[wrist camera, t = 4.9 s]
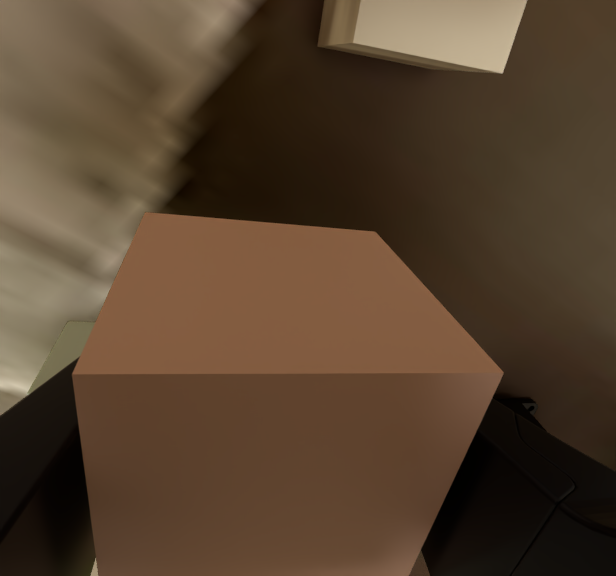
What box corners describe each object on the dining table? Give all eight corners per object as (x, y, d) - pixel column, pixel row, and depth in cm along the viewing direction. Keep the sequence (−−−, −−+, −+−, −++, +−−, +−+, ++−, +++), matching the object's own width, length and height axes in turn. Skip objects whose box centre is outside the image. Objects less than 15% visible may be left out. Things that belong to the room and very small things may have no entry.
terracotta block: (335, 396, 12) (403, 587, 8) (149, 398, 11) (105, 628, 6) (375, 231, 10) (504, 373, 5) (144, 212, 8) (72, 374, 4)
